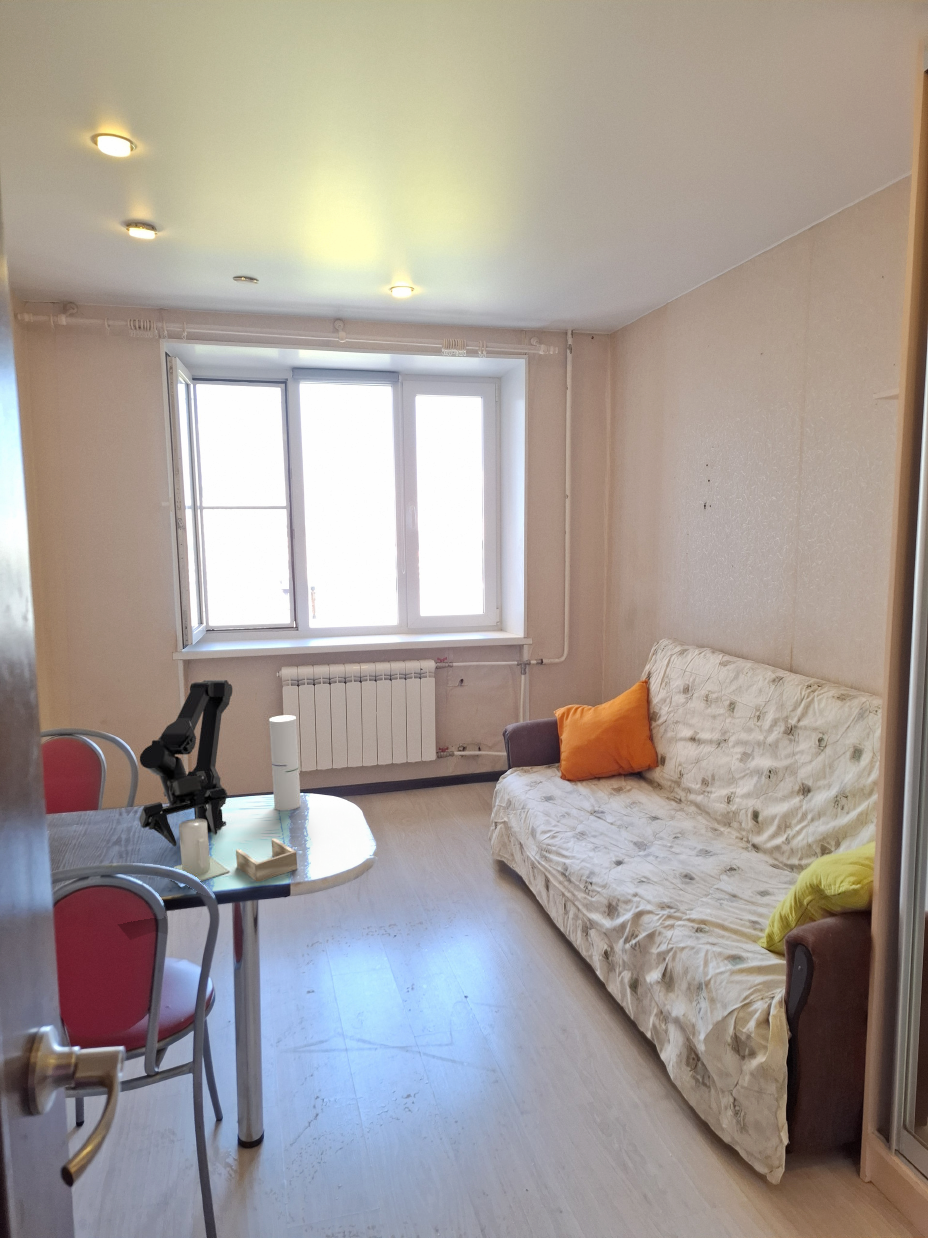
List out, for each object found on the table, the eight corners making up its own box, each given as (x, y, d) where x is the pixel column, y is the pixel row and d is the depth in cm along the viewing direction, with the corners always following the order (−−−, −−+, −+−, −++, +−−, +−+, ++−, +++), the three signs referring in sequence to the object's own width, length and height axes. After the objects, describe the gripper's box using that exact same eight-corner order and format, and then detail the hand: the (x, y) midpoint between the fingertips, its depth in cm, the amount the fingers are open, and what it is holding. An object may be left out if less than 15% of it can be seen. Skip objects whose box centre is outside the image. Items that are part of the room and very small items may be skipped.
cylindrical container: (276, 802, 217) (271, 716, 214) (302, 800, 217) (297, 714, 214) (272, 811, 210) (267, 722, 207) (298, 809, 210) (293, 721, 207)
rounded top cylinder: (178, 870, 173) (174, 823, 172) (204, 862, 177) (200, 816, 176) (191, 881, 167) (187, 833, 166) (217, 873, 171) (214, 826, 170)
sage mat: (163, 871, 173) (163, 870, 173) (210, 857, 180) (210, 856, 180) (180, 887, 165) (180, 886, 165) (229, 872, 172) (229, 871, 172)
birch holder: (236, 866, 175) (235, 850, 174) (275, 854, 181) (274, 838, 180) (257, 882, 167) (256, 864, 166) (297, 868, 173) (296, 852, 172)
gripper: (139, 771, 167) (160, 834, 160) (221, 753, 179) (244, 811, 172) (131, 797, 174) (150, 858, 167) (210, 778, 186) (232, 834, 179)
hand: (196, 839), depth 171 cm, fingers open, 9 cm apart
